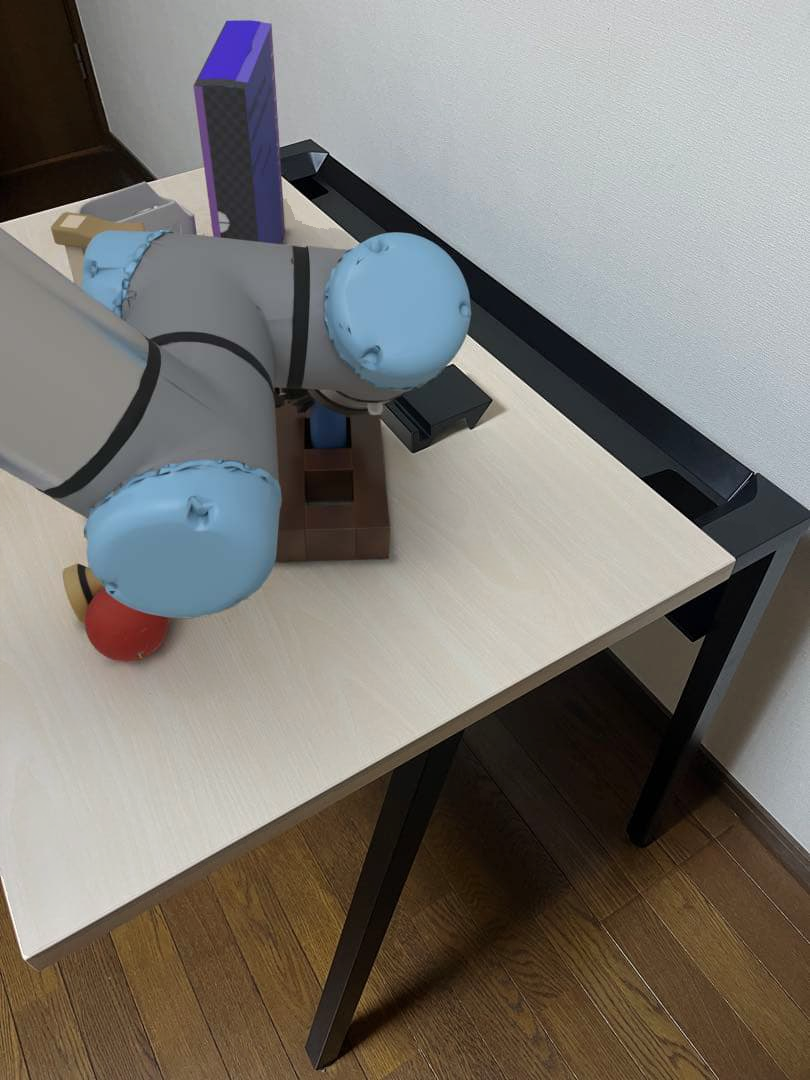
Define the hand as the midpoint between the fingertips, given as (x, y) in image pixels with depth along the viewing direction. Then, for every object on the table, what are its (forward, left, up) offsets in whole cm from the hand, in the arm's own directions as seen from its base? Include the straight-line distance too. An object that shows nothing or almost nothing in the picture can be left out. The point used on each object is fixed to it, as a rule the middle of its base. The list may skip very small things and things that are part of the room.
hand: (320, 395), depth 81 cm
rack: (+1, -7, -5) cm, 9 cm away
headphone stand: (-14, 0, -5) cm, 15 cm away
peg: (+1, -4, -3) cm, 5 cm away
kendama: (-17, -18, -5) cm, 25 cm away
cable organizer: (-18, +24, -5) cm, 31 cm away
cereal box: (-7, +31, -5) cm, 32 cm away
